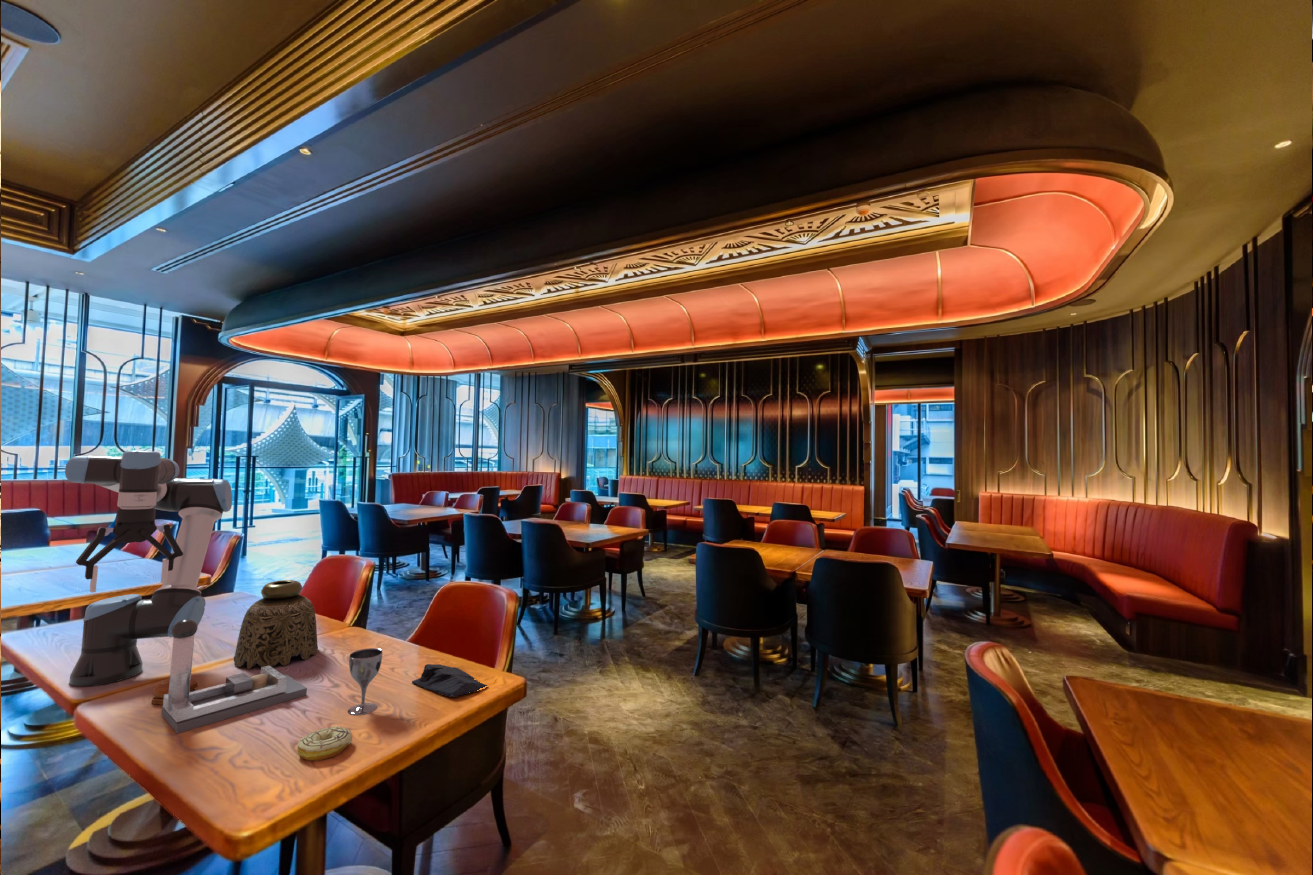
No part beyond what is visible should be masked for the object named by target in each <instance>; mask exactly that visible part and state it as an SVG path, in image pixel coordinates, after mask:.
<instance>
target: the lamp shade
mask: <svg viewBox="0 0 1313 875" xmlns="http://www.w3.org/2000/svg"><path fill="white" fill-rule="evenodd" d="M302 585H303V584H302V583H301V582H300V581H297V580H294V579H293V580H292V579H284V580H283V579H281V580H276V581H271V582H267V583H266V584H264V586H263V587H262V589H261V591H260V594H261V596H262V598H260V599H258V600H257V601H255V602H253V604H251V605H250V606H249V608H248V609H247V610H246V612H245V613H244V616H243V619H242V622H241V625H240V628H239V632H238V633H239V634H238V639H237V642H236V647H235V652H234V656H233V662H234V666H237V667H239V668H241V667H243V666H244V665H245V663H246V666H247V667H246V668H247V669H248V670H250V669H251V668H253V667H255V666H256V664H257V665H258V666H259V667H260V668H261V667H265V666H271V667H272V668H273V667H274V666H276V665H277V664H279V663H280V664H281V666H284V667H285V666H287V665H288V664H290V662H291V658H292V657H298V656H299V655H300V656H301V659H303V660H304V661H307V660H308V659H309V658H310V656H311V655H313V656H316V655H317V653H318V649H319V646H318V630H317V617H316V610H315V607H314V605H313V602H312V600H310V599H309V598H308V597H306V596H304V595H301V593H302V591H303V586H302Z"/></svg>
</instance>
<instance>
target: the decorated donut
mask: <svg viewBox="0 0 1313 875" xmlns="http://www.w3.org/2000/svg"><path fill="white" fill-rule="evenodd" d="M352 741H353V733H352V732H351V730H349V729H348V728H346V727H342V726H331V727H327V728H322V729H321V728H320V729H318V730H316V731H312V732H310V733H308V734H307V735H305V736H303V737H302V738H301V739H299V741H298V743H297V748H296V751H297V754H298V756H299V757H301V759H303V760H305V761H311V762H313V761H314V762H315V761H317V762H318V761H322V760H326V759H329V758H333V757H335V756H337V755H340V754H341V753H342V752H343V751H344V750H346V748H347V747H348V746H349V745H350V744H352Z"/></svg>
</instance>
